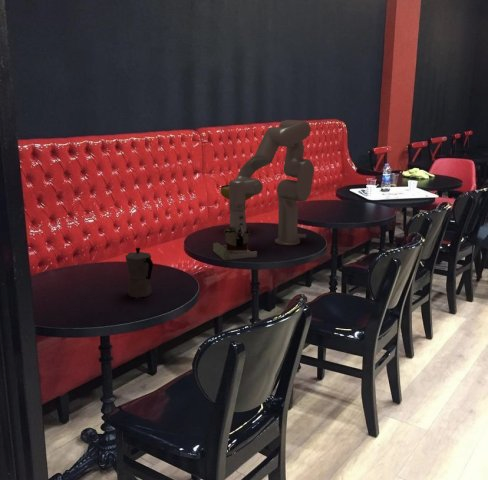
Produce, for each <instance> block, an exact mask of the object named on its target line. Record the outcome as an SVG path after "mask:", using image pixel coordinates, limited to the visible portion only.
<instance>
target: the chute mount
mask: <svg viewBox="0 0 488 480" xmlns="http://www.w3.org/2000/svg"><path fill="white" fill-rule="evenodd" d="M212 244H213V245H212V246H213V249H212V250H213V253H215V254H216V255H217V256H218V257H219V258H220V259H222V260H223V261H229V260H241V259H250V258H257V257H258V251H257V250H254V251H253V250H252V251H251V250H249V248H247V251H228V250H227V247H226V244H220V242H214V243H212Z"/></svg>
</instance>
